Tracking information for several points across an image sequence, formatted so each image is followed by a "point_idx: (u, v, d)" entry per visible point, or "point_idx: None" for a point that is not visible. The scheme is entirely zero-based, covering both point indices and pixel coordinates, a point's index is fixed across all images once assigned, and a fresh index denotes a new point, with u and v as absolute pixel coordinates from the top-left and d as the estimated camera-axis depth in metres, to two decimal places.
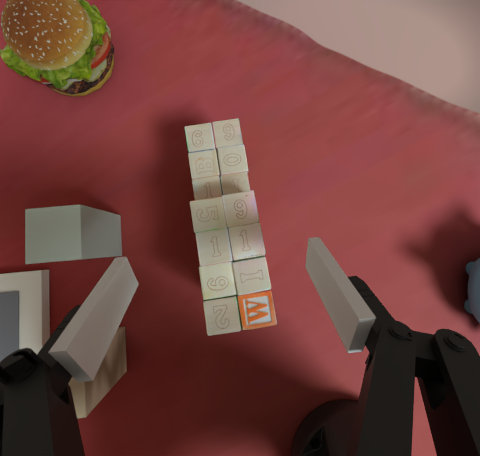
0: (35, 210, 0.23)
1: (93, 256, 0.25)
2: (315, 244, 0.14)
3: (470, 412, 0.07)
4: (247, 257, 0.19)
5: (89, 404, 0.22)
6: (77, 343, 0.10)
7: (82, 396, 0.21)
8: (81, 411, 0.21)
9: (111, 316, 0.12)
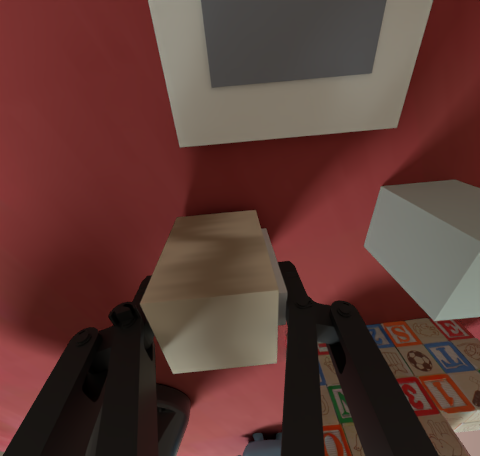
0: None
1: None
2: None
3: (361, 368, 0.08)
4: None
5: None
6: None
7: (208, 368, 0.12)
8: (182, 369, 0.12)
9: None
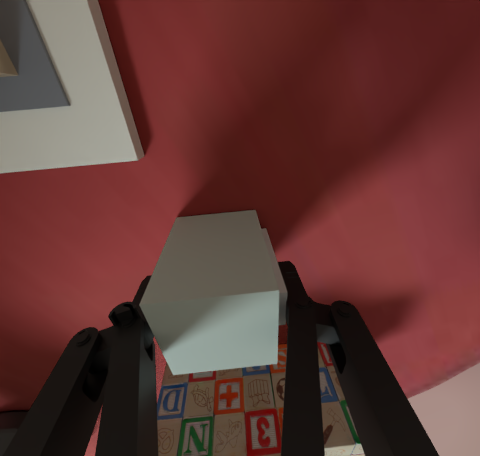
0: (273, 307, 0.10)
1: None
2: None
3: (361, 368, 0.08)
4: None
5: None
6: None
7: None
8: None
9: None
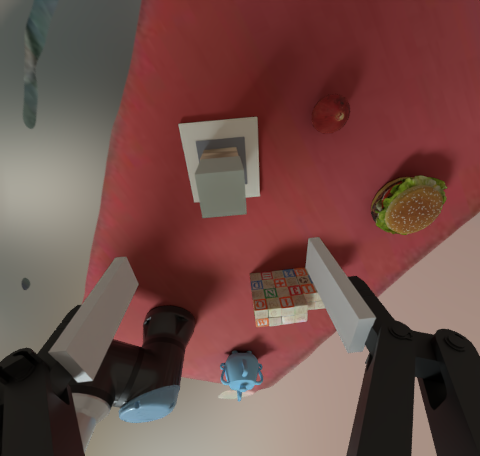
0: (242, 179, 0.26)
1: None
2: (315, 244, 0.14)
3: (470, 412, 0.07)
4: (282, 320, 0.50)
5: None
6: (77, 343, 0.10)
7: None
8: None
9: (111, 316, 0.12)
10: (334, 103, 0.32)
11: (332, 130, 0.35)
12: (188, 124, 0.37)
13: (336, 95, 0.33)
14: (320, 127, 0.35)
